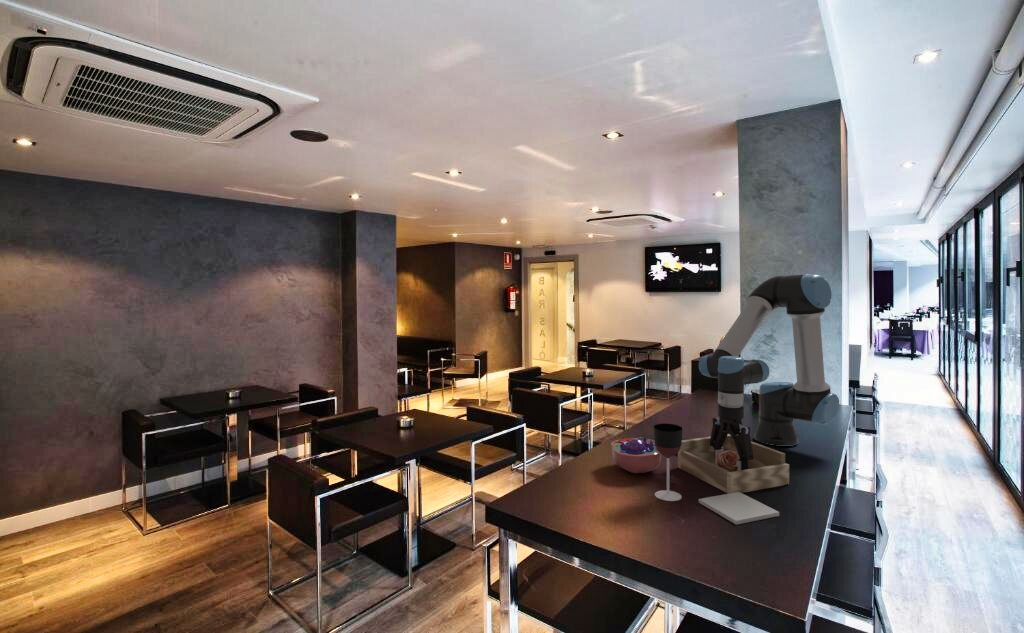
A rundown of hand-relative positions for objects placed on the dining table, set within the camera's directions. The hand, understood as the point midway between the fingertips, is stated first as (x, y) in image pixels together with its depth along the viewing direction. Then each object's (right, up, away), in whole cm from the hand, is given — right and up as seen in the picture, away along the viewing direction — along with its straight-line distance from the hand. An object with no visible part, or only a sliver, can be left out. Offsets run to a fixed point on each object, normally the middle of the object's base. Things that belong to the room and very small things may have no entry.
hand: (730, 474), depth 155 cm
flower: (0, 0, 0) cm, 0 cm away
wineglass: (-25, -2, -14) cm, 29 cm away
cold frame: (0, 0, 0) cm, 0 cm away
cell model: (-28, -1, +7) cm, 29 cm away
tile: (-9, -1, -24) cm, 26 cm away
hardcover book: (-11, 0, +30) cm, 32 cm away
